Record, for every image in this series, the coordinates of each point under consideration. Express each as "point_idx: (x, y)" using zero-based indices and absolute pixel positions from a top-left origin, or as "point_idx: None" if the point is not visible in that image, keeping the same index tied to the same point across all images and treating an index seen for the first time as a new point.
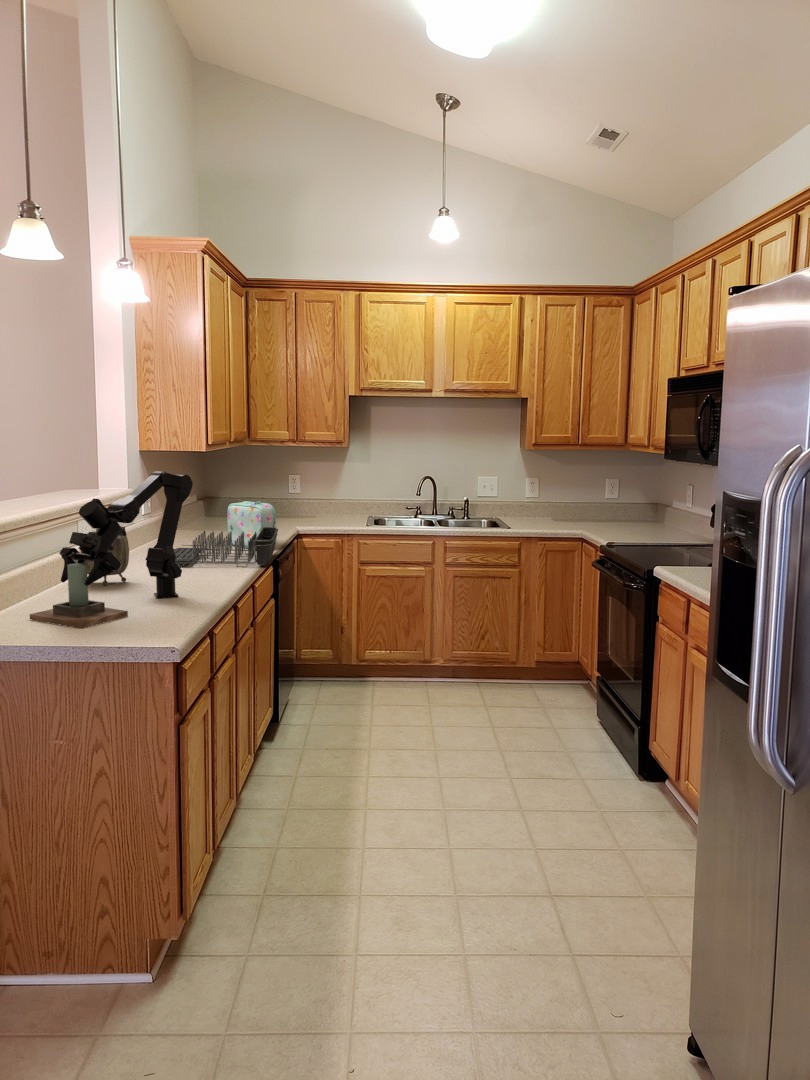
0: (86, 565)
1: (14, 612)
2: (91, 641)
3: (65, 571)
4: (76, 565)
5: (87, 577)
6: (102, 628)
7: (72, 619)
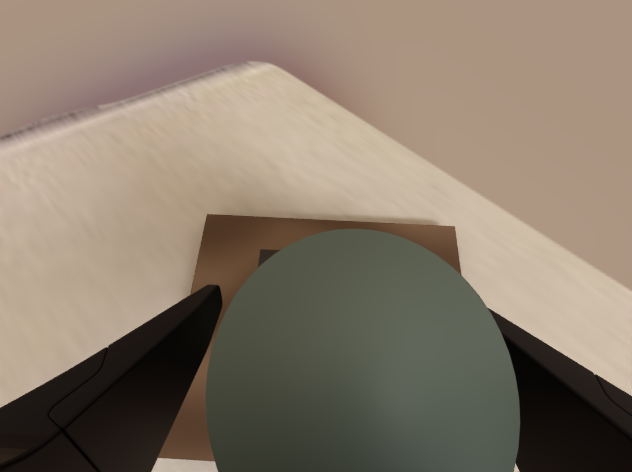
0: (219, 452)
1: (585, 280)
2: (106, 144)
3: (525, 354)
4: (322, 317)
5: (188, 314)
6: (156, 251)
7: (269, 236)
